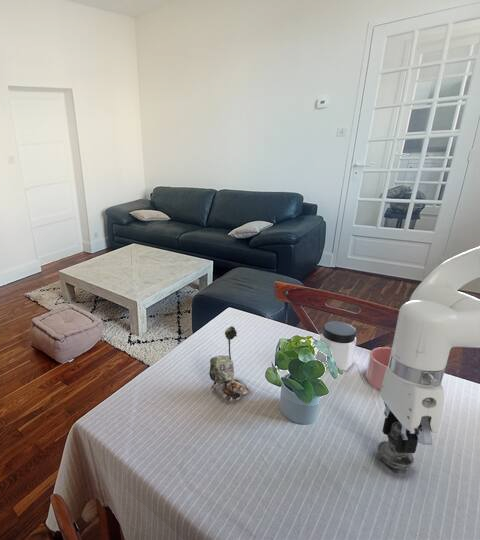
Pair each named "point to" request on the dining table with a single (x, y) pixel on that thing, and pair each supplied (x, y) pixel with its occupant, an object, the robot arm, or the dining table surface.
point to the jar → (339, 343)
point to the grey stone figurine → (394, 452)
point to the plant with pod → (226, 372)
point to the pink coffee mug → (378, 365)
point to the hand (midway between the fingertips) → (398, 441)
